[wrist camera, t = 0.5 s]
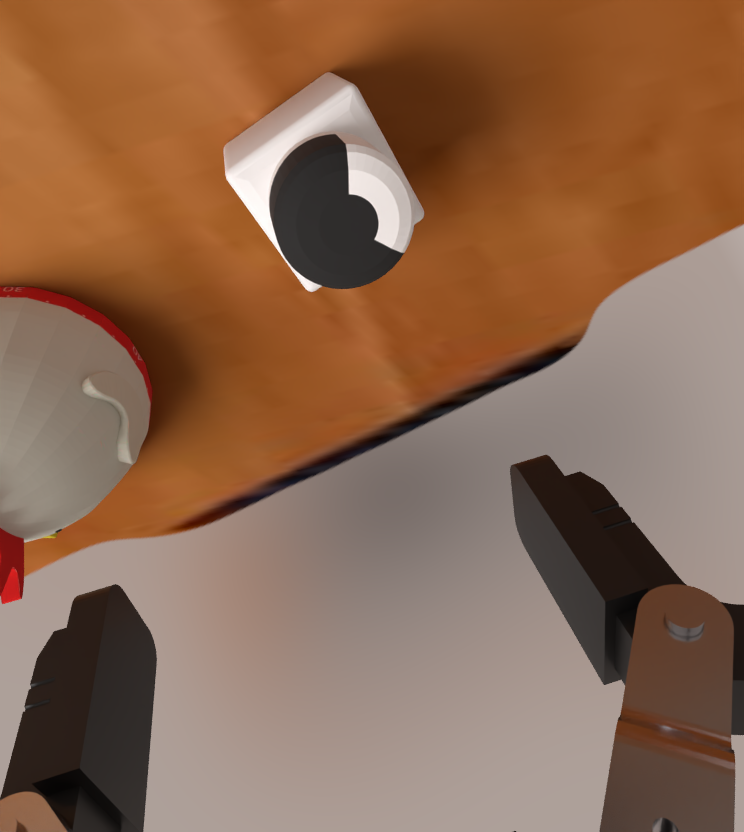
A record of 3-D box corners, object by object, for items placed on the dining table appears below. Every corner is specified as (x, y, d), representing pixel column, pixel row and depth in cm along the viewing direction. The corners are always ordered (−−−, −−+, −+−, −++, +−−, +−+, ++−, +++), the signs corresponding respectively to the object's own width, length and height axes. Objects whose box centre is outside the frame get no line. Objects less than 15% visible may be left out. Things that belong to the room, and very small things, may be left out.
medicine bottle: (295, 253, 39) (324, 336, 29) (220, 146, 35) (223, 201, 25) (394, 185, 38) (460, 247, 28) (329, 68, 34) (378, 92, 24)
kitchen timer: (-20, 503, 43) (-113, 701, 31) (-149, 321, 35) (-343, 487, 23) (182, 448, 44) (171, 618, 32) (100, 260, 36) (43, 388, 24)
